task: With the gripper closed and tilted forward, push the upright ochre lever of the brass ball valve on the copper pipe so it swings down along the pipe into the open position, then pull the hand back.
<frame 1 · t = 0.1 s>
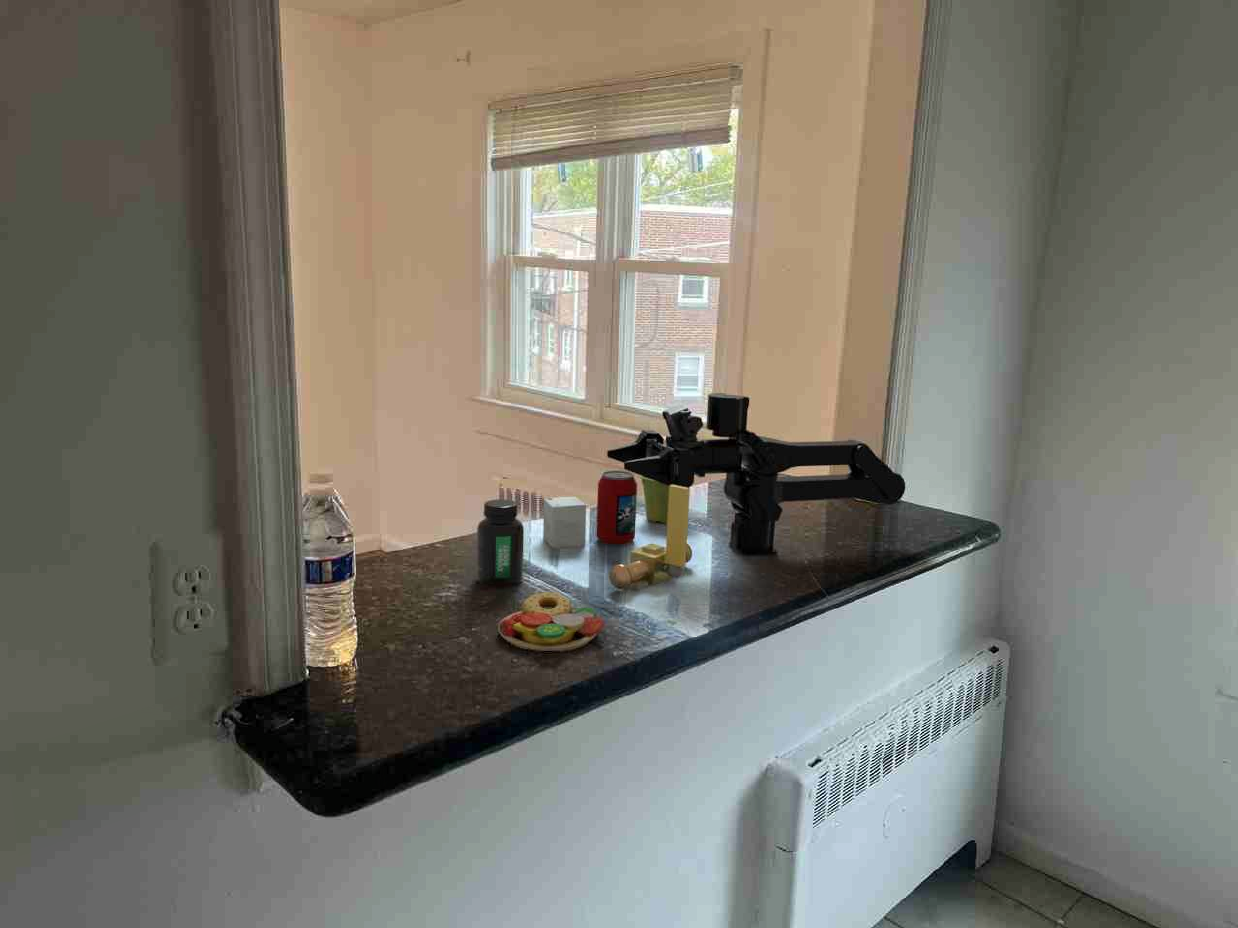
hand: (615, 459, 144), 17 cm above the countertop, tool horizontal, fingers open, 9 cm apart
supplement bottle: (499, 581, 135), on the countertop
valve body: (651, 577, 138), on the countertop
beverage can: (615, 542, 157), on the countertop
toy food set: (550, 636, 116), on the countertop
plant pot: (662, 520, 172), on the countertop
lever: (677, 532, 134), point 8 cm above the countertop, hinge at 0.0°
skincare box: (563, 543, 155), on the countertop
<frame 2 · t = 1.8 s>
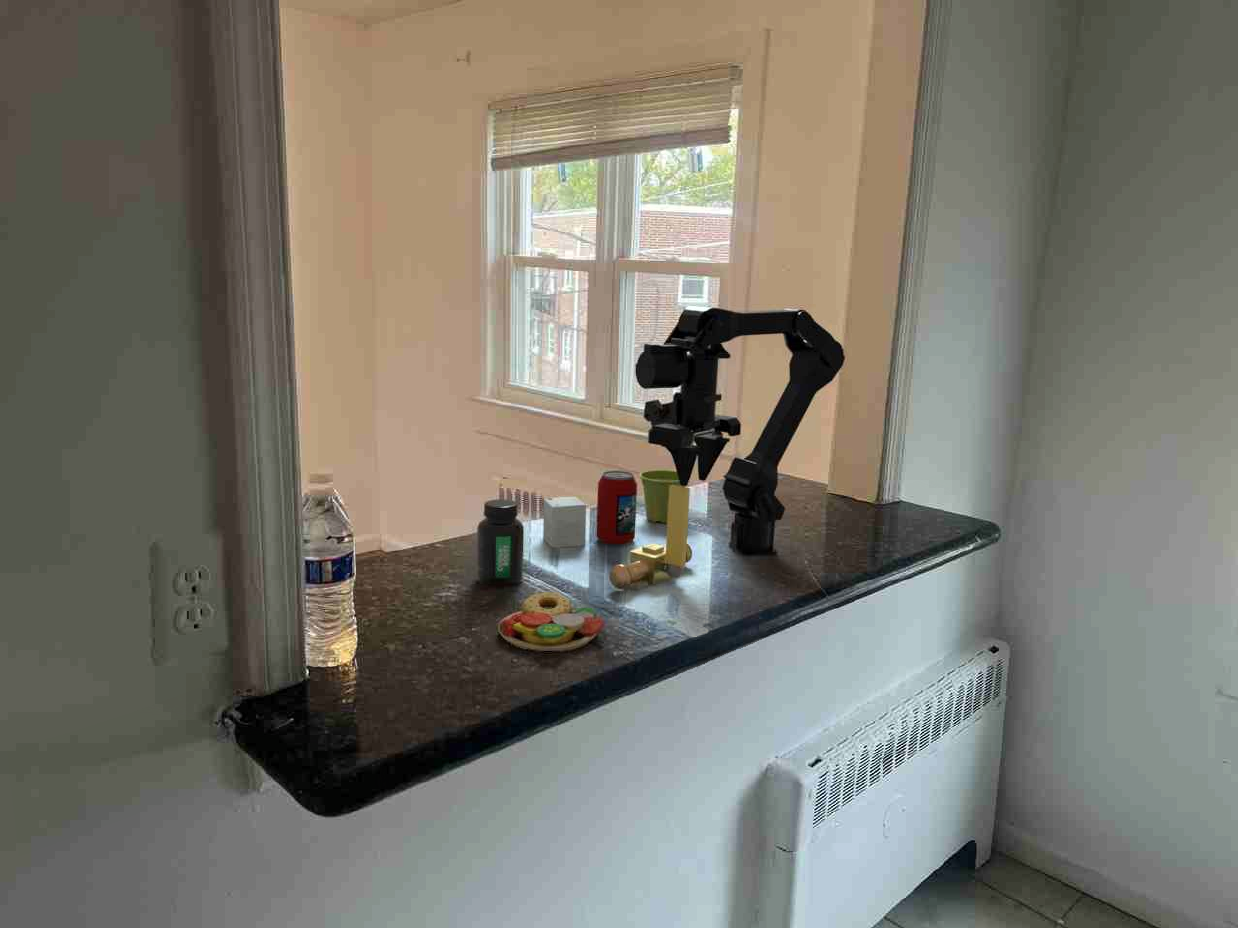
hand: (693, 482, 145), 13 cm above the countertop, tool pointing down, fingers open, 5 cm apart
nothing on the countertop moved.
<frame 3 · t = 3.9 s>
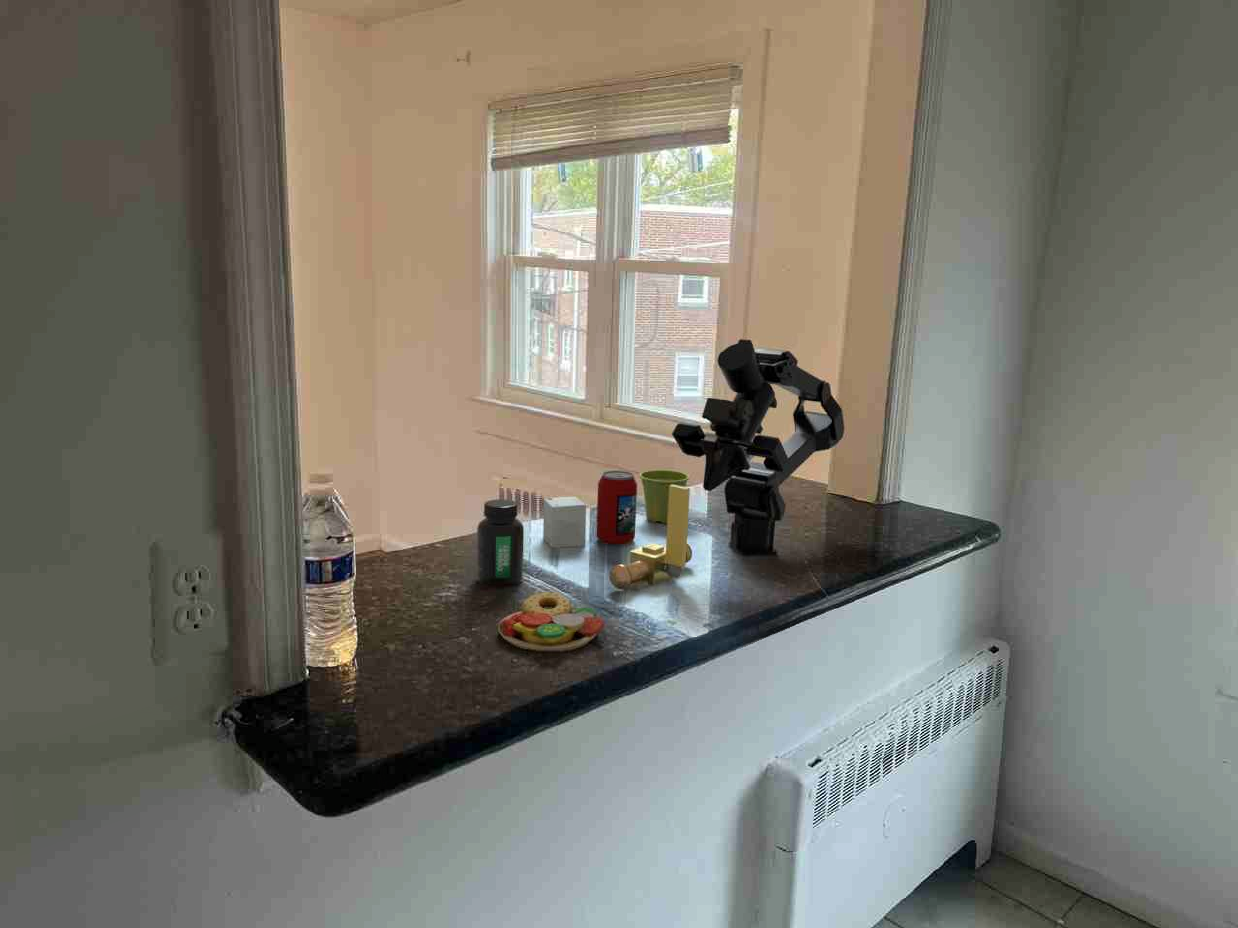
hand: (706, 489, 139), 14 cm above the countertop, tool tilted 45°, fingers closed
nothing on the countertop moved.
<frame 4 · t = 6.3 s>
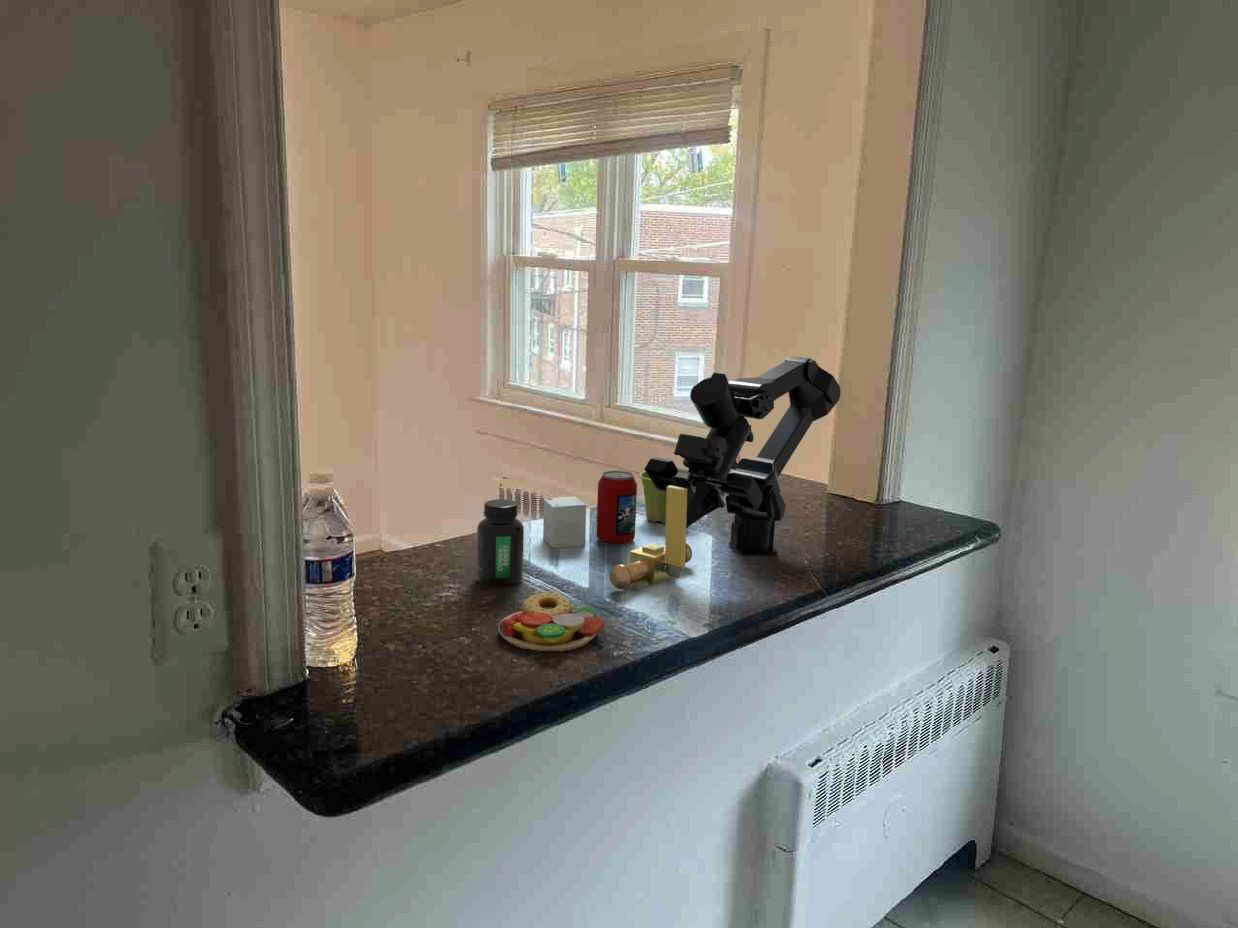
hand: (678, 528, 134), 9 cm above the countertop, tool tilted 45°, fingers closed, pressing on lever
lever: (675, 533, 134), point 8 cm above the countertop, hinge at 3.0°, touching gripper
everything else where it was.
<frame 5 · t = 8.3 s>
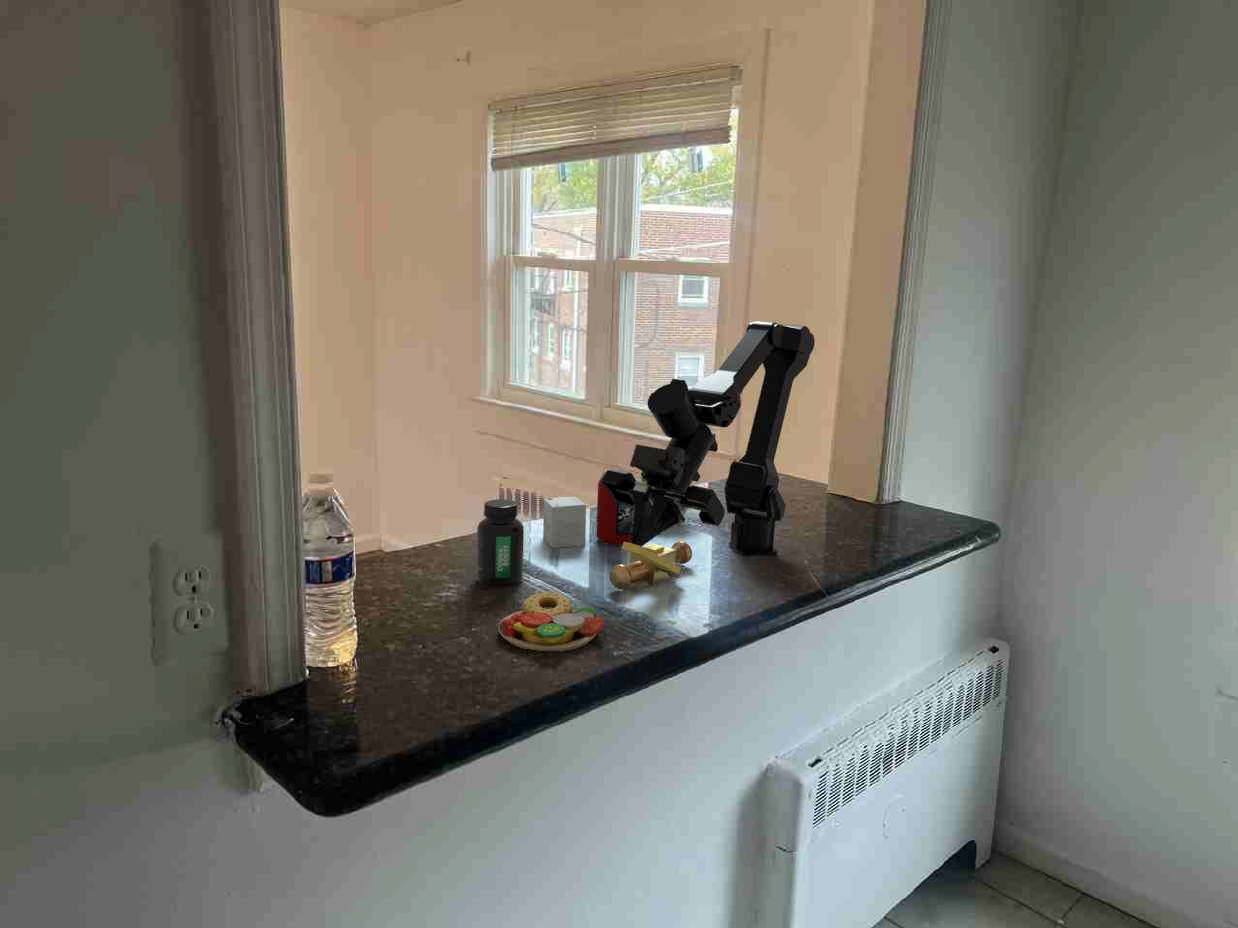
hand: (635, 545, 126), 9 cm above the countertop, tool tilted 45°, fingers closed, pressing on lever
lever: (655, 560, 131), point 5 cm above the countertop, hinge at 61.3°, touching gripper
everything else where it was.
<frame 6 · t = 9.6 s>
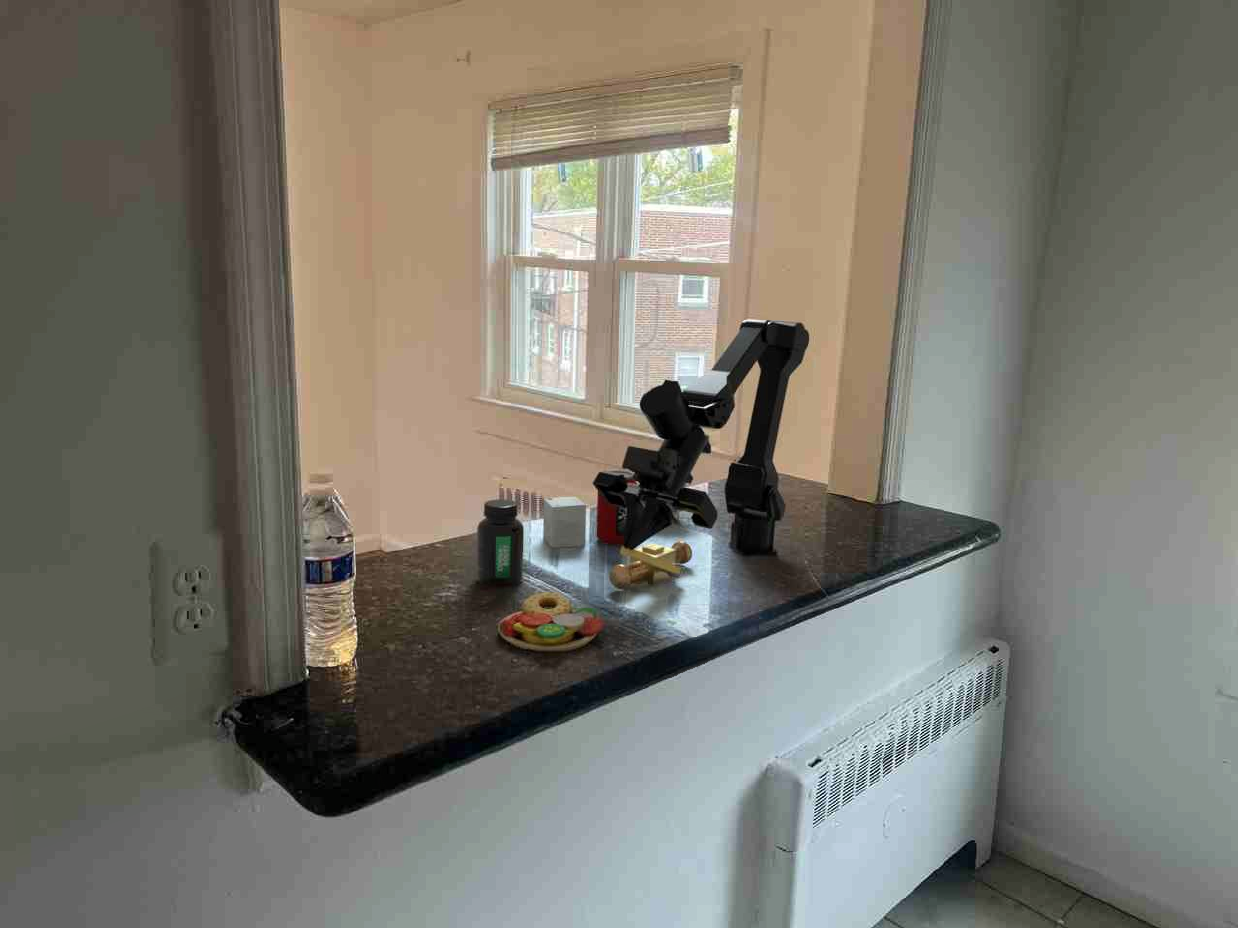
hand: (626, 547, 125), 9 cm above the countertop, tool tilted 45°, fingers closed
lever: (655, 562, 131), point 5 cm above the countertop, hinge at 64.5°
everything else where it was.
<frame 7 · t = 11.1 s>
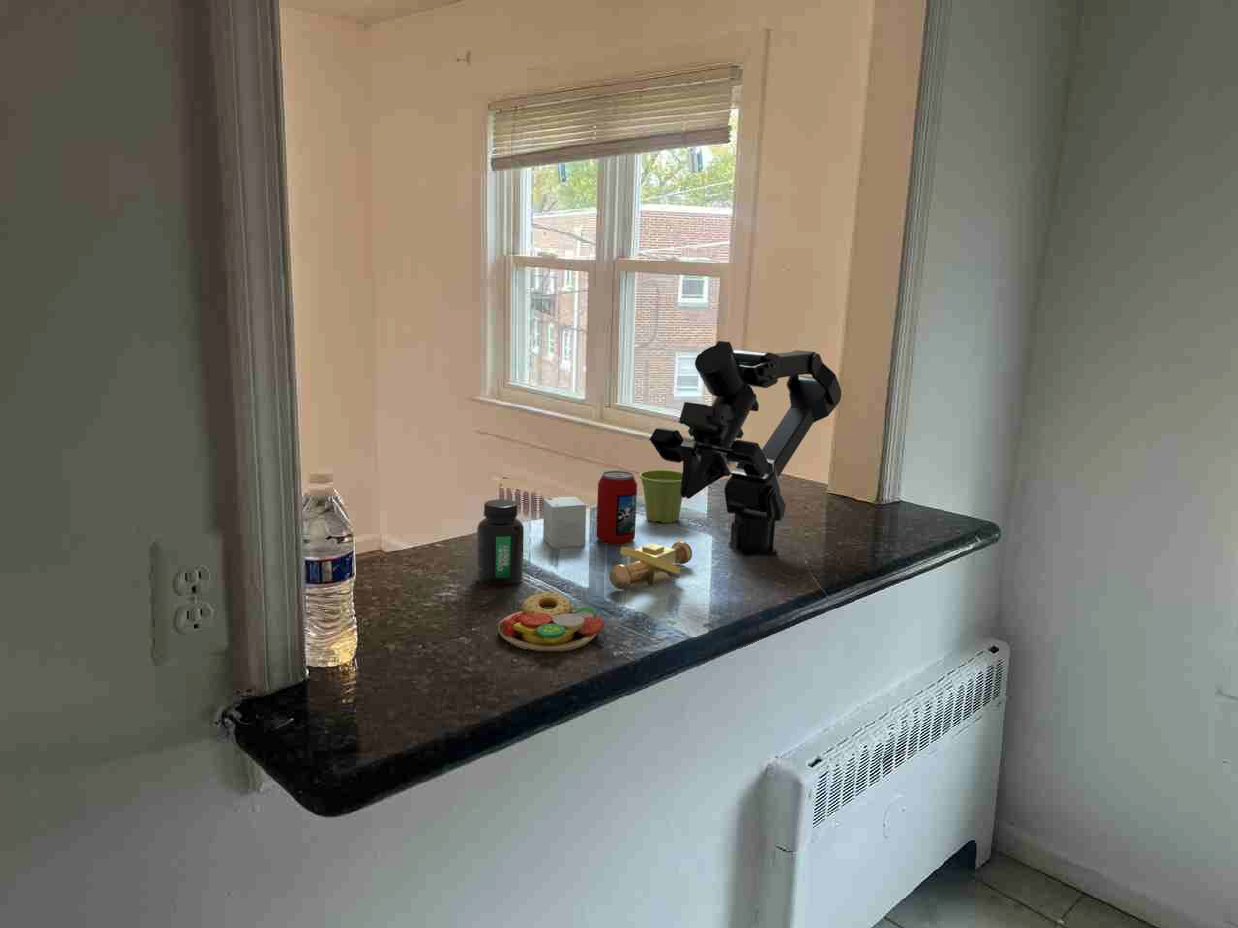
hand: (684, 496, 134), 13 cm above the countertop, tool tilted 45°, fingers closed
nothing on the countertop moved.
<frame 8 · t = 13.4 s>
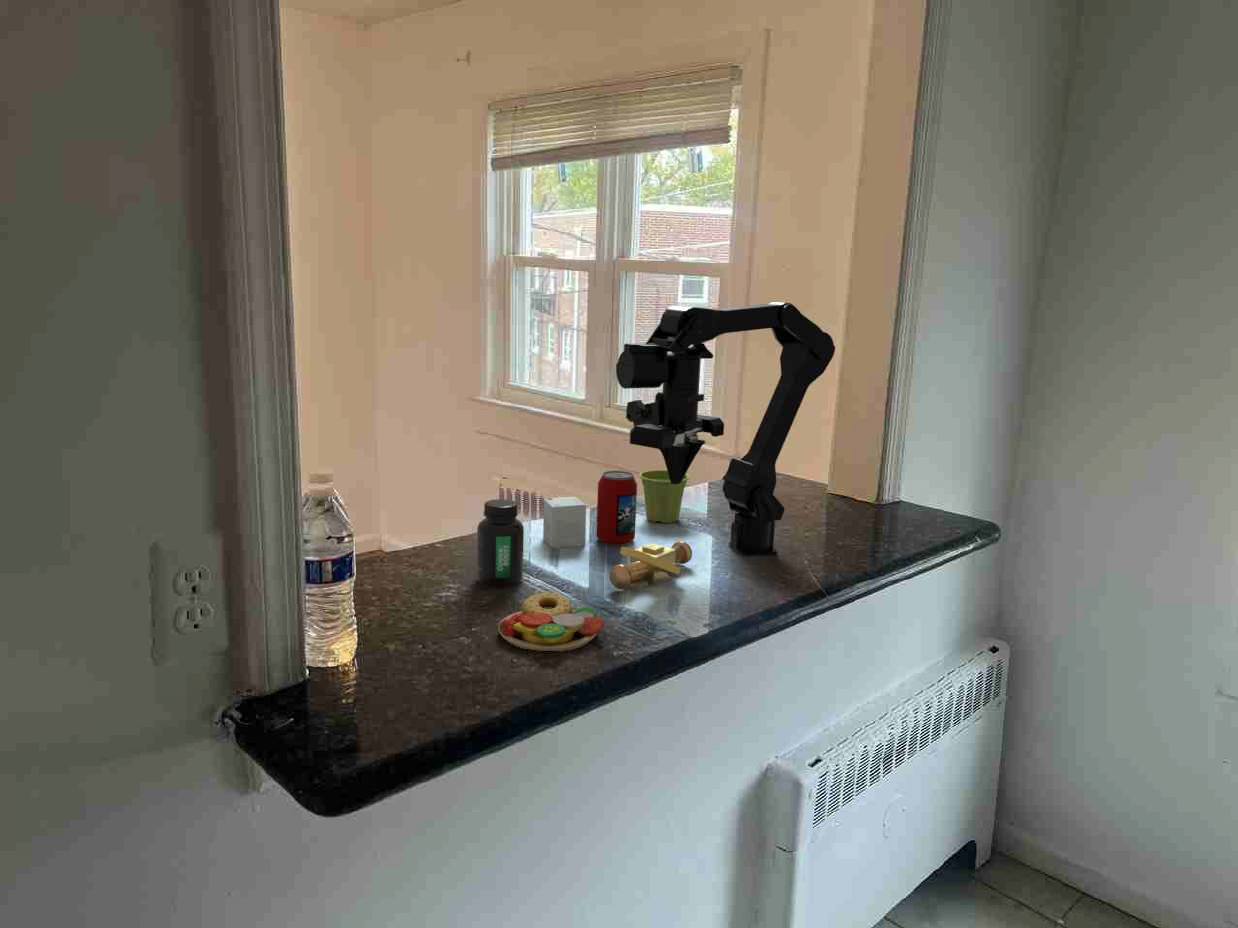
hand: (675, 483, 144), 13 cm above the countertop, tool pointing down, fingers closed
nothing on the countertop moved.
at the end: lever at +64° (first picture: +0°); lever touching nothing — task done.
